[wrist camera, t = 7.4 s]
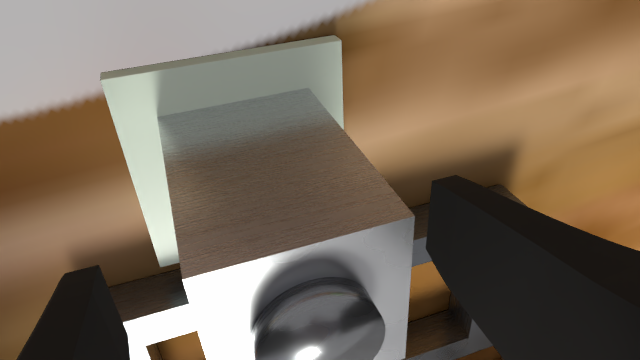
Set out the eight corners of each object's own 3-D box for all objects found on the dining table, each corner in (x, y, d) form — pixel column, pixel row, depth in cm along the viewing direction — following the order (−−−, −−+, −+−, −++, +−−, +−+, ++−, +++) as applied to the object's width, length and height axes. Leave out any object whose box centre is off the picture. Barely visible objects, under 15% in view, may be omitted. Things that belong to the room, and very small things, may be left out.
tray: (159, 256, 15) (160, 267, 15) (100, 72, 12) (100, 80, 11) (340, 210, 17) (345, 218, 16) (334, 35, 13) (341, 40, 13)
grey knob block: (189, 237, 15) (230, 450, 9) (157, 116, 12) (186, 307, 7) (317, 205, 16) (418, 381, 10) (308, 87, 13) (432, 237, 8)
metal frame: (143, 429, 19) (145, 469, 18) (80, 294, 15) (77, 335, 14) (475, 317, 23) (496, 344, 22) (500, 184, 19) (529, 208, 17)
